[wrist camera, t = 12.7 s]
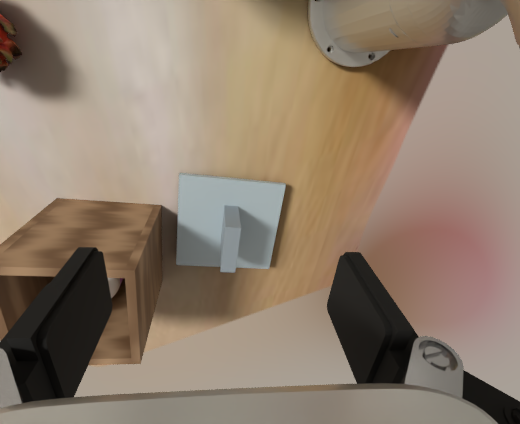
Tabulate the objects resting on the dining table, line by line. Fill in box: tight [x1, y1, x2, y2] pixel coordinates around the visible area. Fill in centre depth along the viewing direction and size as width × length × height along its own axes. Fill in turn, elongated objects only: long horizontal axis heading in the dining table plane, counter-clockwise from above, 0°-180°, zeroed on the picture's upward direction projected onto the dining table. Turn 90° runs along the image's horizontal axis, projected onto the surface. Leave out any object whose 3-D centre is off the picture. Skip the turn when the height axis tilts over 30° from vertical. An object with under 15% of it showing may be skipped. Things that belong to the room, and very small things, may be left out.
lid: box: [176, 173, 286, 273], centre depth 42 cm, size 15×15×9 cm
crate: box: [0, 198, 162, 365], centre depth 38 cm, size 14×14×16 cm
